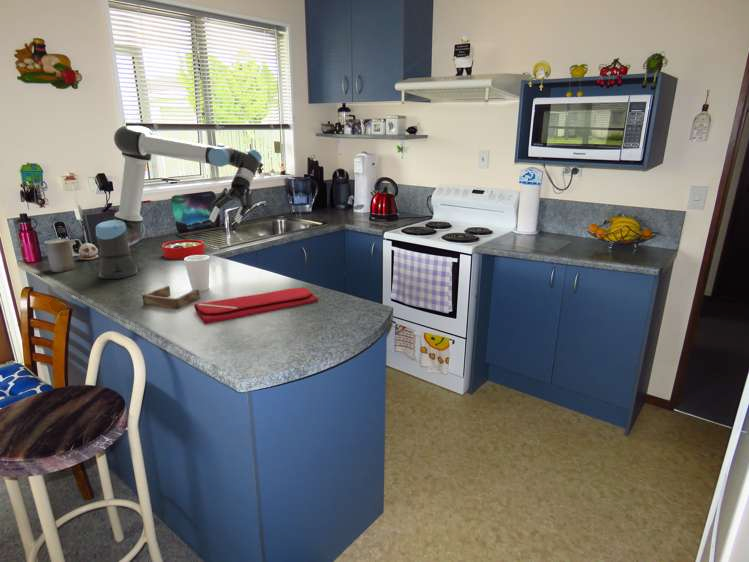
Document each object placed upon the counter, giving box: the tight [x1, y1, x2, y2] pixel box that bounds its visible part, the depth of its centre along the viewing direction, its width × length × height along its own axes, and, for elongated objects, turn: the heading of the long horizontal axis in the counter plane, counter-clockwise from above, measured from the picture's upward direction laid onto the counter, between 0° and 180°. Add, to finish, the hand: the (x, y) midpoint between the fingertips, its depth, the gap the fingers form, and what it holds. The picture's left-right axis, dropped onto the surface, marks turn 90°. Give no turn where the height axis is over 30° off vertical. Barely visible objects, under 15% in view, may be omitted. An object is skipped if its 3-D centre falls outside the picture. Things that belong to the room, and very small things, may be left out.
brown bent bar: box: [141, 285, 201, 310], centre depth 178 cm, size 12×15×4 cm
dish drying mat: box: [193, 287, 319, 325], centre depth 173 cm, size 16×41×4 cm, turn 122°
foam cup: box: [183, 254, 211, 293], centre depth 190 cm, size 10×9×13 cm
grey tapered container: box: [44, 238, 76, 273], centre depth 220 cm, size 10×10×15 cm
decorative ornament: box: [78, 228, 100, 261], centre depth 239 cm, size 8×8×15 cm
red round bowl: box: [161, 239, 205, 260], centre depth 248 cm, size 20×6×20 cm
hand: (224, 221), depth 202 cm, fingers open, 13 cm apart
